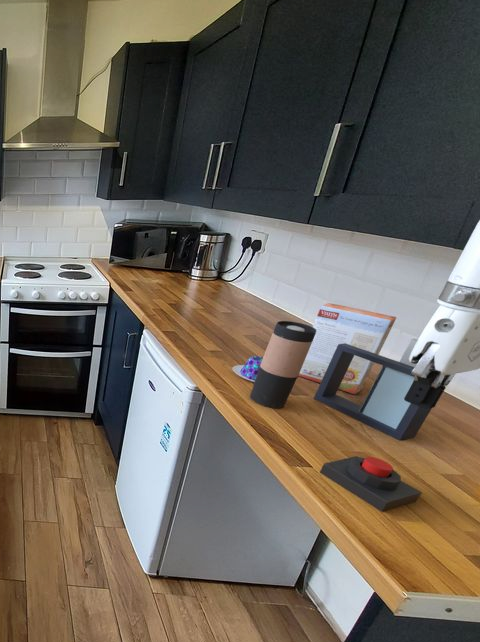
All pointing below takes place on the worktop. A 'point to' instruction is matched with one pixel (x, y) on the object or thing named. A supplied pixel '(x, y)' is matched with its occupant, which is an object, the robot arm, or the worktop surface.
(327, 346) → the cracker box
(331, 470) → the control block
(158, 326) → the worktop surface
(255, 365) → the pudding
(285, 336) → the travel mug
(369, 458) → the button
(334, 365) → the window frame
